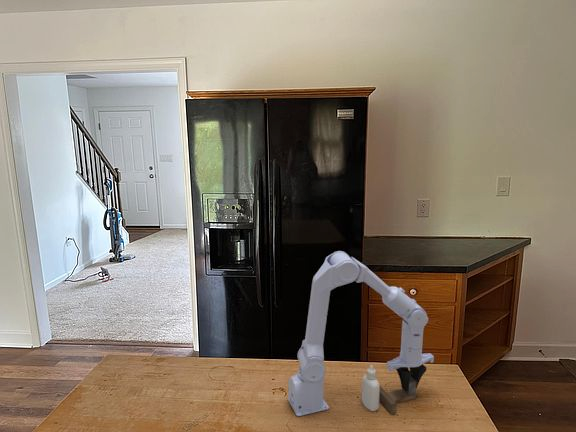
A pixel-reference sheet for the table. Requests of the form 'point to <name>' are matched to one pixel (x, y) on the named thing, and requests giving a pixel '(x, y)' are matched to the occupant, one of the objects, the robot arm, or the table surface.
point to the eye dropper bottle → (370, 390)
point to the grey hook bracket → (397, 396)
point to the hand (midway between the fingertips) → (409, 388)
